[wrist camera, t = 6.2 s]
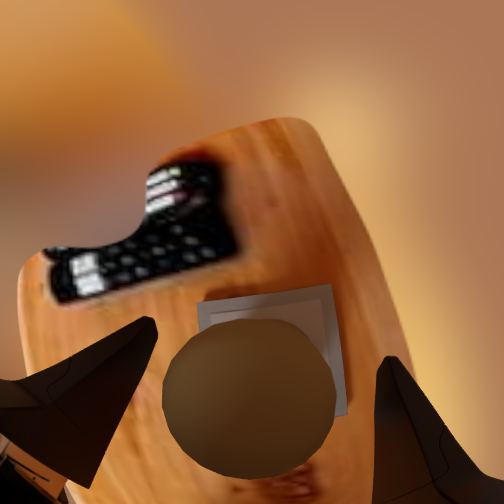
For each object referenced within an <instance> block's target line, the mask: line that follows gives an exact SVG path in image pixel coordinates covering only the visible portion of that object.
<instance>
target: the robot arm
mask: <svg viewBox="0 0 504 504" xmlns="http://www.w3.org/2000/svg"><path fill="white" fill-rule="evenodd" d="M157 339H158V331H157V327H156V323H155V320H154V319H153V318H151V317H147V316H143V317H141V318H139V319H137V320H135V321H134V322H132V323H130V324H128V325H126V326H125V327H123V328H121V329H119V330H117V331H116V332H114V333H112V334H110V335H108V336H107V337H105V338H103V339H101V340H99V341H98V342H96V343H94V344H92V345H90V346H89V347H87V348H85V349H83V350H81V351H80V352H78V353H76V354H74V355H72V356H70V357H69V358H67V359H65V360H63V361H61V362H59V363H57V364H55V365H53V366H51V367H49V368H47V369H45V370H42V371H40V372H38V373H35V374H33V375H31V376H28V377H26V378H23V379H20V380H16V381H10V380H3V379H0V504H68V503H69V502H68V499H67V496H66V493H65V490H64V485H65V483H66V482H67V480H68V479H69V480H71V481H73V482H75V483H77V484H79V485H81V486H83V487H85V488H87V489H89V488H90V486H91V484H92V481H93V479H94V477H95V475H96V472H97V470H98V468H99V466H100V463H101V461H102V459H103V457H104V455H105V451H106V450H107V448H108V446H109V443H110V441H111V439H112V437H113V435H114V433H115V431H116V429H117V427H118V424H119V422H120V420H121V418H122V416H123V414H124V412H125V410H126V408H127V406H128V404H129V402H130V400H131V398H132V396H133V394H134V392H135V390H136V388H137V386H138V384H139V382H140V380H141V378H142V376H143V374H144V372H145V370H146V368H147V365H148V362H149V360H150V357H151V355H152V352H153V349H154V347H155V344H156V342H157ZM444 424H445V423H444V422H443V420H442V419H441V417H440V416H439V414H438V413H437V411H436V410H435V409H434V407H433V406H432V404H431V403H430V401H429V400H428V398H427V397H426V396H425V394H424V393H423V391H422V390H421V389H420V387H419V386H418V384H417V383H416V382H415V380H414V379H413V378H412V376H411V375H410V373H409V372H408V371H407V369H406V368H405V367H404V365H403V364H402V363H401V361H400V360H399V359H398V357H396V356H386V357H385V358H384V359H383V361H382V363H381V365H380V367H379V368H378V370H377V375H376V393H375V408H374V426H375V452H374V478H373V493H372V504H504V481H503V480H500V479H496V478H493V477H490V476H487V475H486V474H484V473H483V472H481V471H480V470H479V468H478V467H477V466H476V465H475V463H474V462H473V461H472V460H471V459H470V457H469V456H468V455H467V454H466V452H465V451H464V450H463V449H462V447H461V446H460V445H459V443H458V442H457V441H456V440H455V438H454V436H453V435H452V434H451V432H450V431H449V429H448V428H447V426H446V425H444Z"/></svg>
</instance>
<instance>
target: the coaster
mask: <svg viewBox="0 0 504 504" xmlns="http://www.w3.org/2000/svg"><path fill="white" fill-rule="evenodd" d="M197 312H198V323H199V333H200V332H202V331H204V330H205V329H207V328H209V327H210V326H212V325H214V324H218V323H222V322H226V321H231V320H235V319H239V318H243V319H258V320H262V319H280V320H283V321H286V322H288V323H291V324H294V325H295V326H296V327H298V328H299V329H300V330H301V331H303V332H304V333H305V334H306V335H307V337H308V338H309V340H310V341H311V343H312V344H313V345H314V346H315V347H317V349H318V350H319V352H320V353H321V355H322V356H323V358H324V360H325V361H326V363H327V364H328V366H329V367H330V369H331V371H332V375H333V379H334V383H335V388H336V392H337V400H336V408H335V416H334V417H338V416H343V415H348V412H347V399H346V388H345V378H344V369H343V360H342V352H341V344H340V337H339V330H338V323H337V316H336V310H335V303H334V297H333V292H332V286H331V283H330V284H324V285H318V286H312V287H306V288H300V289H294V290H287V291H281V292H274V293H267V294H260V295H253V296H245V297H238V298H230V299H222V300H214V301H205V302H197Z"/></svg>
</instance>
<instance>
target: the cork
mask: <svg viewBox="0 0 504 504" xmlns="http://www.w3.org/2000/svg"><path fill="white" fill-rule="evenodd" d="M336 400H337V392H336V388H335V383H334V379H333V375H332V371H331V369H330V367H329V366H328V364H327V363H326V361H325V360H324V358H323V356H322V355H321V353H320V352H319V350H318V349H317V347H315V346H314V345H313V344H312V343H311V341H310V340H309V338H308V337H307V335H306V334H305V333H304V332H303V331H301V330H300V329H299V328H298V327H296V326H295V325H294V324H291V323H288V322H286V321H283V320H280V319H262V320H258V319H243V318H239V319H235V320H231V321H226V322H222V323H218V324H214V325H212V326H210V327H209V328H207V329H205V330H204V331H202V332H200V333H198V334H197V335H195V336H193V337H192V338H191V339H190V340H189V341H188V342H187V343H186V344H185V345H184V346H183V347H182V349H181V350H180V351H179V352H178V353H177V354H176V356H175V357H174V358H173V359H172V360H171V363H170V365H169V368H168V370H167V373H166V376H165V378H164V381H163V390H162V408H163V411H164V415H165V418H166V422H167V425H168V428H169V431H170V433H171V434H172V436H173V437H174V439H175V440H176V441H177V443H178V444H179V446H180V447H181V449H182V450H183V451H184V452H185V453H186V454H187V455H188V456H190V457H191V458H192V459H193V460H195V461H196V462H197V463H198V464H200V465H201V466H202V467H204V468H207V469H209V470H211V471H213V472H216V473H218V474H221V475H223V476H227V477H233V478H241V479H248V480H249V479H258V478H265V477H272V476H278V475H280V474H283V473H285V472H287V471H289V470H291V469H294V468H296V467H298V466H300V465H302V464H303V463H304V462H305V461H306V460H307V459H309V458H310V457H311V456H312V455H313V454H314V453H315V452H316V451H317V450H318V449H319V448H320V447H321V446H322V444H323V442H324V440H325V438H326V437H327V435H328V433H329V431H330V429H331V427H332V425H333V421H334V416H335V408H336Z"/></svg>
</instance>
